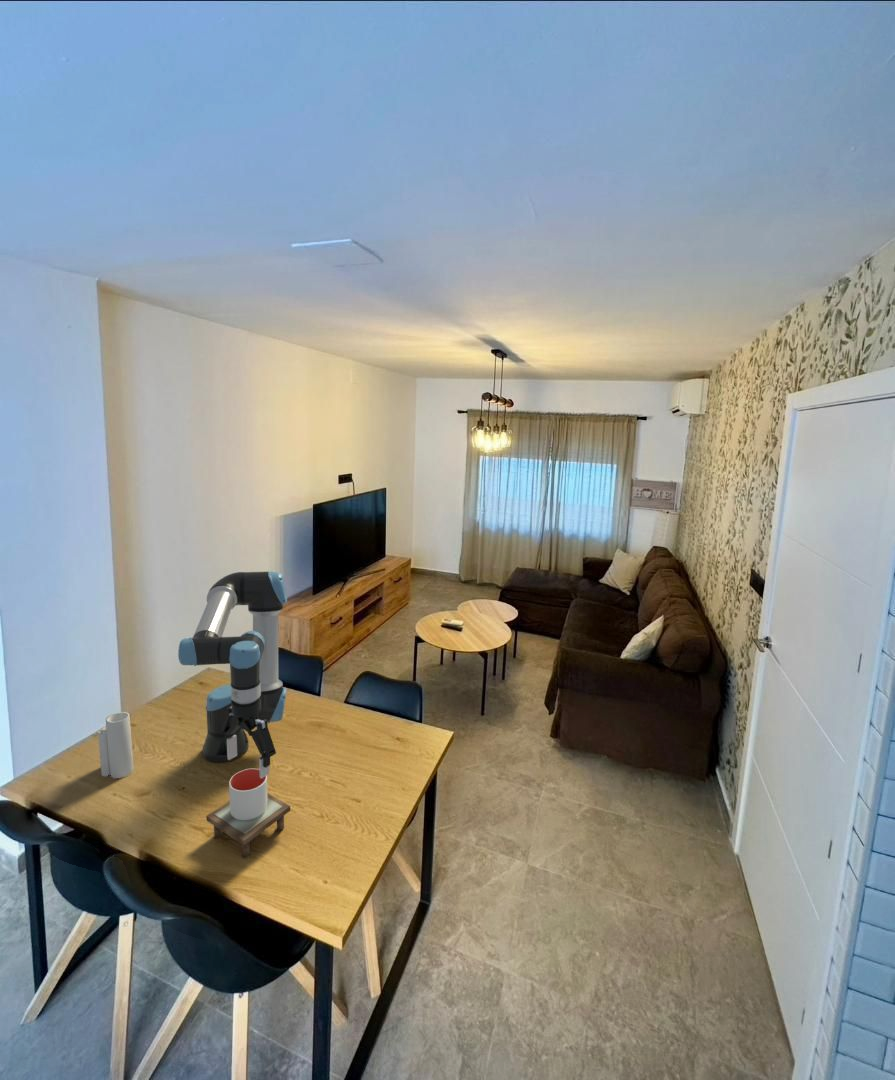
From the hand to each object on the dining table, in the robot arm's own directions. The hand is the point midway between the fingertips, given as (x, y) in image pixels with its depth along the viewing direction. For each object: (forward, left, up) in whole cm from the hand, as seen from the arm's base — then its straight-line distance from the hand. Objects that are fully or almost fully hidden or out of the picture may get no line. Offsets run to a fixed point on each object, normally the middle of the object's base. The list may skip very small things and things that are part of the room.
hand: (248, 766), depth 148 cm
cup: (0, 0, -14) cm, 14 cm away
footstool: (0, 0, -21) cm, 21 cm away
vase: (-58, -7, -21) cm, 62 cm away
